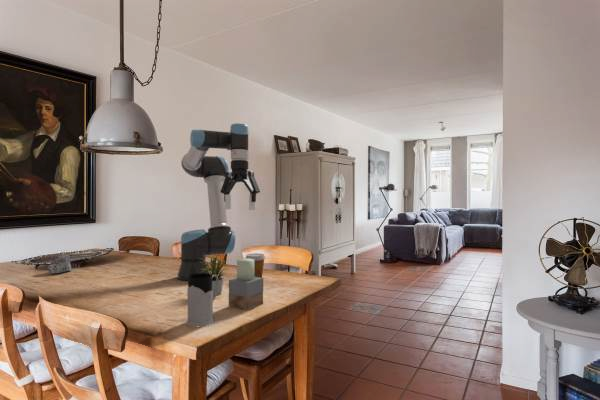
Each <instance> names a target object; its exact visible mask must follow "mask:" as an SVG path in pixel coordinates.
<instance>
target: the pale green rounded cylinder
mask: <svg viewBox="0 0 600 400" xmlns="http://www.w3.org/2000/svg"><path fill="white" fill-rule="evenodd" d="M236 278H237V280H239V281H250V280H254V259H249V258H246V257H245V258H239V259H236Z"/></svg>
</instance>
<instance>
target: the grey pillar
mask: <svg viewBox="0 0 600 400" xmlns="http://www.w3.org/2000/svg"><path fill="white" fill-rule="evenodd" d="M214 276H216V290H215V294H214V296H213V290H212V278H213V277H214ZM217 290H218V276H217V275H211V274H206V273H201V274H193V275H189V276H188V281H187V321H186V324H187V325H188V326H187V325H186V326H187V327H190V326H193V327H192V328H196V327H195V326H204V327H207V326H206V325H208V326H210V325H209V324H211V325H212V323H213V322H215V319H214V308H213V307H214V305H213V303H214V300H215V299H216V294H217ZM213 324H214V323H213Z"/></svg>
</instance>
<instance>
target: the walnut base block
mask: <svg viewBox="0 0 600 400" xmlns="http://www.w3.org/2000/svg"><path fill="white" fill-rule="evenodd" d="M261 305H264V291H263V292H260V293H258V294H255V295H252V296H249V297H244V296H239V295H234V294H229V293H228V307H230V308H233V309H234V308H235V309H239V310H242V311H243V310H245V311H249V310H250V311H251V310H252V309H255V308H257V307H259V306H261Z"/></svg>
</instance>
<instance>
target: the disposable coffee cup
mask: <svg viewBox="0 0 600 400" xmlns="http://www.w3.org/2000/svg"><path fill="white" fill-rule="evenodd" d="M246 258H249V259H254V277H259V278H263V272H264V263H265V259H266V256H265V253H258V252H257V253H256V252H255V253H254V252H253V253H247V254H246V256H245V259H246Z"/></svg>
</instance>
